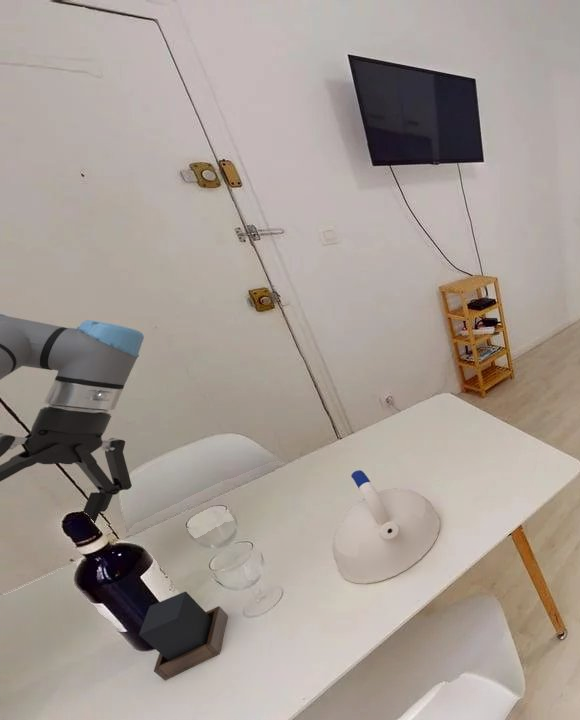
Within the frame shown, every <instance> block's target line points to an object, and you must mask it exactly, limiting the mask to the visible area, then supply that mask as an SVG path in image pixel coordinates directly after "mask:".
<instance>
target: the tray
mask: <svg viewBox="0 0 580 720" xmlns="http://www.w3.org/2000/svg"><path fill="white" fill-rule="evenodd" d="M205 612H206V613H207V614H208V615H209V616H210V617H211V618H212V619H213V620H212V624H211V628H210V632H209V636H208V641H207V644H205V645H203V646H201V647H199V648H196V649H194V650H192V651H190V652H188V653H186V654H184V655H181V656H179V657H177V658H175V659H173V660H171V661H168V660H167V659H166V658H165V657H164V656H163V655H162V654H160V653H159V652H158V656H157V659H156V663H155V666H154V669H153V672H154V673H155V674H156V675H157V676H158V677H160V678H161V679H162V680H163V681H166V680H169V679H170V678H173V677H174V676H177V675H179V674H181V673H183V672H184V671H188V670H189V669H191V668H194V667H195V666H198V665H200V664H201V663H204V662H206V661H208V660H210V659H213V658H214V657H216V656H218V655H220V654H221V649H222V645H223V639H224V636H225V630H226V626H227V620H228V617H229V616H228V614H227V613H226V612H225V611H224V609H223V608H221V606H220V605H218V606H216V607H214V608H211V609H209V610H207V611H205Z"/></svg>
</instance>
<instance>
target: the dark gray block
mask: <svg viewBox="0 0 580 720" xmlns="http://www.w3.org/2000/svg"><path fill="white" fill-rule="evenodd" d="M196 601H197V600H195V599H194V598H193V597H192V596H191V595H190V594H189V593H188V592H187V591H186V590H185V591H183V592H181V593H178V594H176V595H174V596H171V597H169V598H165V599H163V600H161V601H158V602H156V603H154V604H151V605H150V606H149V607H148V610H147V612H146V615H145V618H144V620H143V622H142V626H141V627H140V631H139V633H138V635H139V636H140V637H141V638H142V639H143V640H144V641H145V642H147V644H149V646H151V647H152V648H153V649H154V650H156V651H157V652H158V654H159V653H160V654H162V655H163V656H164V657H165V658H166V659H167V660H168V661H171V660H173V659H175V658H177V657H179V656H181V655H184V654H186V653H188V652H190V651H192V650H194V649H196V648H199V647H201V646H203V645H205V644H207V641H208V636H209V632H210V628H211V624H212V620H213V619H212V618H211V617H210V616H209V615H208V614H207V613H206V612H207V611H205V610H204V609H203V608H202V606H200V604H198V602H196Z"/></svg>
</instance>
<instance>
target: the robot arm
mask: <svg viewBox="0 0 580 720" xmlns="http://www.w3.org/2000/svg"><path fill="white" fill-rule="evenodd" d="M144 337H145V336H144V334H143V333H142V332H141V331H140V330H137V329H134V328H131V327H126V326H122V325H118V324H113V323H108V322H102V321H97V320H89V319H87V320H83V321H82V322H81V323H80V325H78V326H76V328H74V327H64V326H59V325H56V324H55V325H54V324H50V323H45V322H40V321H34V320H31V319H25V318H19V317H15V316H9V315H6V314H2V313H0V381H1V380H2V379H4V378H6V377H7V376H9V375H10V374H12V373H13V372H15V371H17V370H18V369H19V368H22V367H27V368H35V369H40V370H48V371H57V374H56V376H55V378H54V380H53V382H52V384H51V387H50V388H49V390H48V393H47V394H46V396H45V399H44V400H43V403H44V404H46V405H47V406H45V407H42V408H40V409H39V412H38V413H37V415H36V418H35V419H34V422H33V424H32V426H31V430H30V432H29V433H28V434H27V435H26V436H17V435H11V434H7V433H1V432H0V458H1V457H2V456H4V455H5V454H6V453H7V452H8V451H9V450H13V449H15V448H16V447H18V446H19V445H21V447H22V448H23V451H21V452H19V453H17V454H16V455H14V456H12V457H10V458H9V460H7V461H6V462H3V463H1V464H0V482H2V481H4V480H6V479H8V478H10V477H12V476H13V475H15V474H17V473H18V472H21V471H22V470H24V469H26V468H29V467H33V466H34V465H36V464H41V465H55V464H62V465H73V464H75V465H77V466H78V467H79V468H80V469H81V471H82V472H83V473H84V474H85V476H86V477H87V478H88V479H89V480H90V482H91V483H92V484H93V485H94V487H95V488H96V489H97V490H98V491H99V492H96V491H95V492H90V494H89V496H88V498H87V501H86V503H85V505H84V508H83V510H82V512H85V513H87V514H88V515H89V517H90V518H91V519H92V520H93V521H94V523H95V524H96V522H97V519H98V518H99V515H100V513H103V512H106V511H107V509H108V508H109V505H110V504H111V501H112V499H113V496H115V495H117V494H119V493H120V492H121V491H128V490H130V489H131V488H132V480H131V478H130V477H131V476H130V474H129V470H128V466H127V461H126V458H125V455H124V451H125V450H124V449H125V447H126V446H125V445H126V441H125V440H124V439H120V438H115V437H111V438H109V439H102V437H103V435H104V434H105V432H106V430H107V428H108V425H109V424H110V421H111V419H112V415H111V414H110V413H109V412H110V411H111V412H112V411H114V410H115V409H116V407H117V405H118V403H119V399H120V397H121V395H122V393H123V390H124V388H125V386H126V383H127V381H128V379H129V377H130V374H131V372H132V370H133V368H134V366H135V363H136V361H137V360H138V358H139V356H140V354H139V353H140V350H141V348H142V344H143V341H144ZM100 448H101V451H104V454H105V460H106V464H107V466H108V470H109V474H110V477H111V480H112V481H111V480H110V478H109V477H108V475H107V474H106V473H105V471H104V470H103V469H102V468H101V467H100V465H99V464H98V461H97V460H96V458H95V457H94V455H93V453H94V452H95V451H97V450H98V449H100Z"/></svg>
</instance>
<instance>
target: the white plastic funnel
mask: <svg viewBox="0 0 580 720" xmlns="http://www.w3.org/2000/svg"><path fill="white" fill-rule="evenodd" d="M350 475H351V479H352V480H353V482H354V483H355V485H356V486H357V488H358V490H359V491H360V493H361V495H362V497H363V498H362V499H361V500H359V501H358V502H356V503H355V504H354V505H353V506H351V507H350V508H349V510H348V511H347V512H346V513H345V514H344V516H343V517H342V519H341V521H339V524H338V526H337V528H335V532H334V535H333V540H332V547H331V548H332V550H331V551H332V555H333V559H334V562H335V564H336V567H337V570H338V572H339V574H340V575H341V576H342V578H343V579H344V580H347V581H349V582H351V583H356V584H364V585H365V584H372V583H378V582H382V581H385V580H389V579H390V578H393V577H396V576H398V575H399V574H401V573H403V572H405V571H406V570H409V568H411V567H412V566H414V565H415V564H416V563H418V562H419V561H421V559H422V558H423V557H424V555H426V554H427V552H429V550H430V549H431V548H432V546H433V544H434V543H435V542H436V540H437V538H438V535H439V533H440V530H441V519H440V517H439V514H438V512H437V511H436V510H435V507H434V506H433V505H432V503H431V501H430V500H428V498H427V497H425V496H424V495H422V494H421V493H419V492H417V491H415V490H412V489H406V488H396V487H395V488H394V487H393V488H386V489H383V490H380V491H379V490H378V491H377V490H376V488H375V487H374V486H373V485H374V484H372V482H371V480H370V479H369V477H368V476H367V474H366V473H365V472H364V471H363V470H361V469H359V470H355V471H353V472H352V473H351V474H350Z"/></svg>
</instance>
